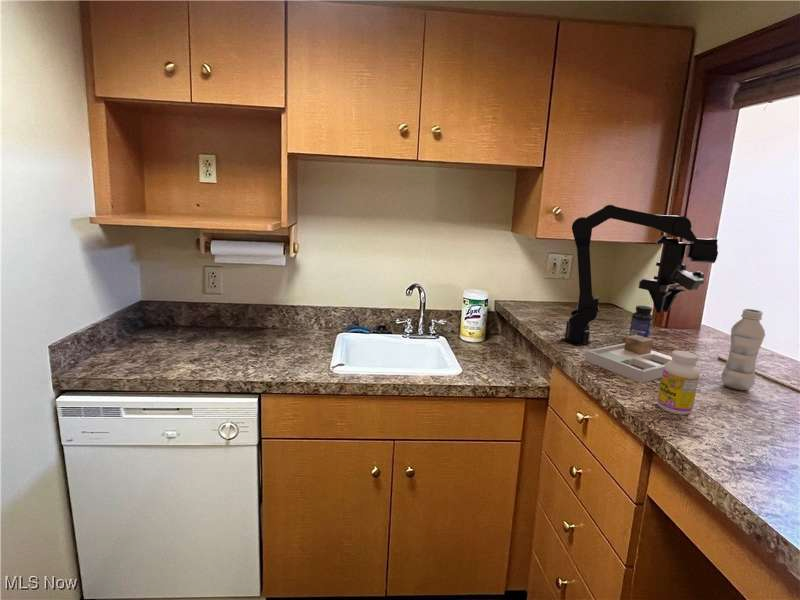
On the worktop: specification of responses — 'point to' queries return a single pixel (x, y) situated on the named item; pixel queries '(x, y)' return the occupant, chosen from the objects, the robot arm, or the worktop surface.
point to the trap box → (629, 362)
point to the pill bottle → (641, 322)
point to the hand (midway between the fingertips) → (662, 312)
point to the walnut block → (638, 344)
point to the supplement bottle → (679, 383)
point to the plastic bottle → (744, 351)
